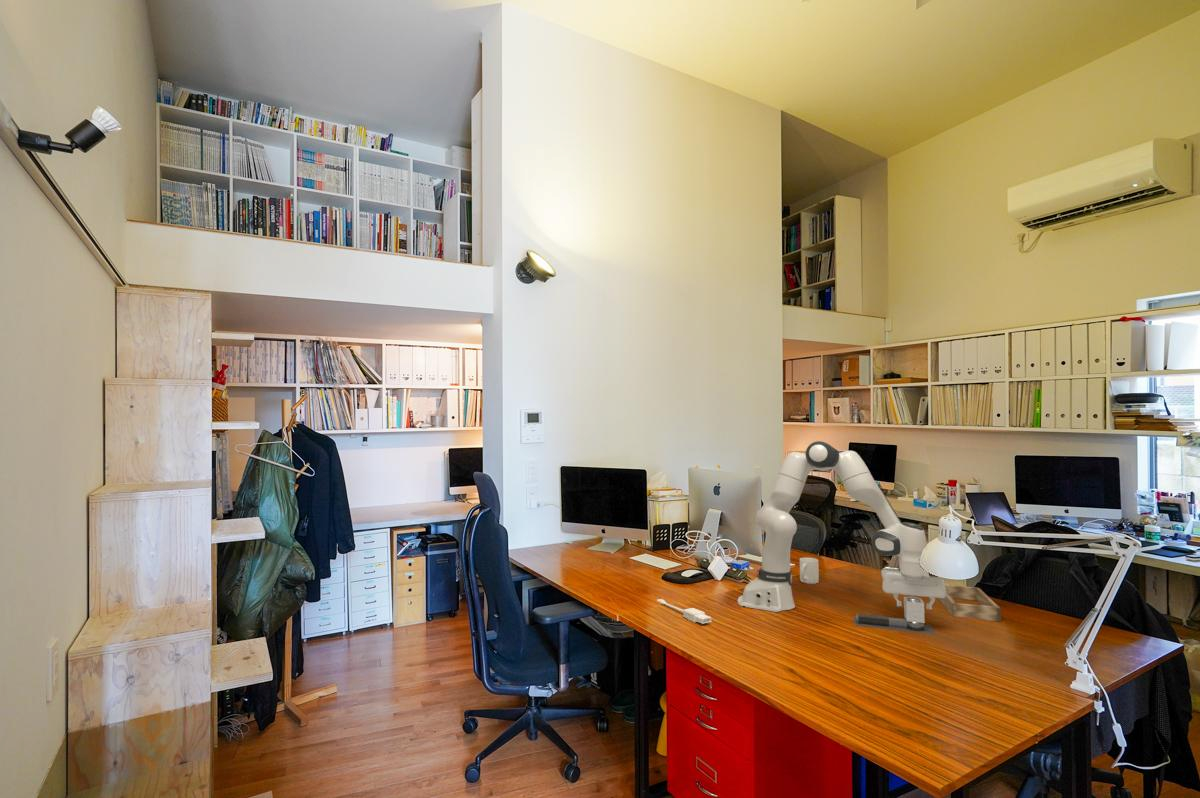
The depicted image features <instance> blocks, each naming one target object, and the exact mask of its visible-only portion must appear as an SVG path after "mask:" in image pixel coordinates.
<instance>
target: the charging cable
mask: <svg viewBox="0 0 1200 798" xmlns="http://www.w3.org/2000/svg"><path fill="white" fill-rule="evenodd" d="M656 600H657V601H658V602H660V603H662V604H665V606H667V607H669V608H672V609H675V610H677V611H680V612H682V614H683V615H682V616H683V617H685V618H687V619H689V620H691V621H690V622H692V621H693V622H692V623H694V624H696V623H695V622H698V623H700V624H707V623H712V617H711V616H709V615H706V613H705V611H702V610H700V609H697V608H694V607H690V608H685V609H682V608H680V607H677V606H674V605H672V604H670V603H667V602H666V600H665V599H663V598H658V599H656ZM657 601H656V602H657ZM683 617H682V618H683ZM685 618H684V619H685ZM687 619H686V620H687ZM689 620H688V621H689Z"/></svg>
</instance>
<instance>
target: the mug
mask: <svg viewBox="0 0 1200 798" xmlns="http://www.w3.org/2000/svg"><path fill="white" fill-rule="evenodd" d="M819 564H820V563H819V559H817V558H814V557H800V558H799V580H800V581H801V583H803V584H808V585H817V584H818V583H819V581H820V577H819V576H820V575H819V574H820V573H819V571H820V570H819V568H820V567H819ZM816 583H817V584H816Z"/></svg>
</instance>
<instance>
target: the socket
mask: <svg viewBox="0 0 1200 798" xmlns="http://www.w3.org/2000/svg"><path fill="white" fill-rule="evenodd" d="M903 615H904V619H906V621H910V622H919V623H924V624H925V623H926V622H925V602H924V601H923V599H922V598H920V597H919V596H912V595H907V596H903Z"/></svg>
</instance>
